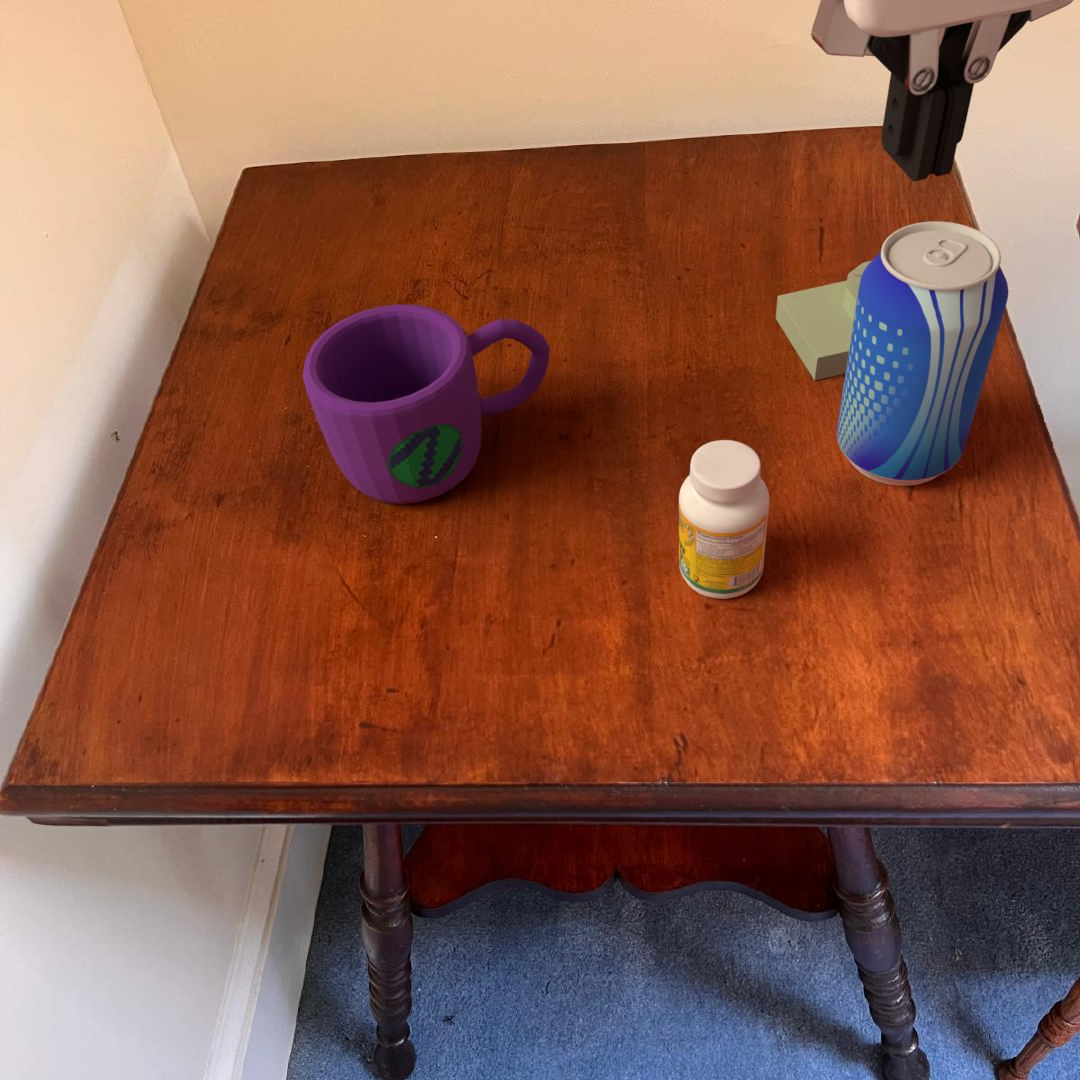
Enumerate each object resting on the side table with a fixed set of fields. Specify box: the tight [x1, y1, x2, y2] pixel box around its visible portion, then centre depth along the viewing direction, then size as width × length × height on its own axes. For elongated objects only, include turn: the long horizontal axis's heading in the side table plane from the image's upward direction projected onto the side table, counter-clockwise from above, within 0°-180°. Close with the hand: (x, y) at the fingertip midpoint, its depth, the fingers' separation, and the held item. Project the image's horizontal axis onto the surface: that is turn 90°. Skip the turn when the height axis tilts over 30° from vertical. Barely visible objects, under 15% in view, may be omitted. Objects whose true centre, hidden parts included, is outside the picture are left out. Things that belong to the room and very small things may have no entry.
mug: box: [302, 303, 550, 505], centre depth 73 cm, size 17×11×10 cm, turn 116°
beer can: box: [836, 221, 1009, 487], centre depth 66 cm, size 8×8×16 cm
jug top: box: [775, 260, 872, 381], centre depth 79 cm, size 11×8×4 cm
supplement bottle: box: [678, 439, 770, 600], centre depth 63 cm, size 5×5×10 cm
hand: (916, 162), depth 46 cm, fingers closed
